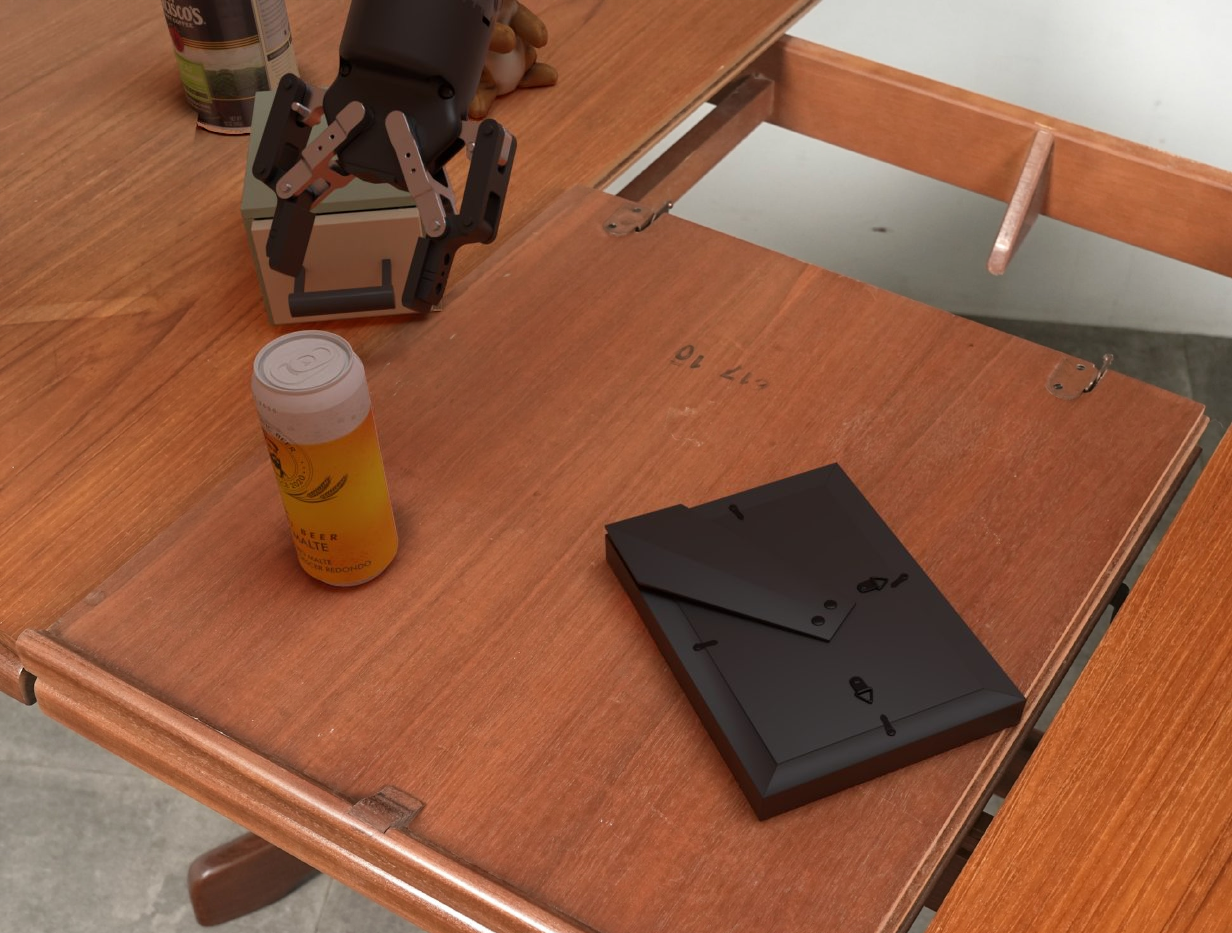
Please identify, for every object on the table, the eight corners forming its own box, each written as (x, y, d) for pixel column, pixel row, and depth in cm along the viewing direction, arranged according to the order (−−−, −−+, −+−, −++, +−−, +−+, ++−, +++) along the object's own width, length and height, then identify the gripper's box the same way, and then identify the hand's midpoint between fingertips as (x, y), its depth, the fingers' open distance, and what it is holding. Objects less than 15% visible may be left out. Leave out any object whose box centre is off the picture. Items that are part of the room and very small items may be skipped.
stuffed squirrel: (478, 126, 119) (462, -29, 109) (396, 66, 127) (374, -83, 117) (572, 90, 123) (565, -62, 113) (487, 34, 131) (473, -113, 121)
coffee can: (228, 149, 117) (186, -18, 107) (168, 106, 123) (122, -57, 112) (329, 107, 122) (298, -57, 111) (267, 67, 127) (232, -93, 117)
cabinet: (442, 311, 101) (425, 194, 94) (269, 326, 100) (240, 209, 93) (436, 191, 112) (421, 78, 105) (281, 204, 111) (255, 91, 104)
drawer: (434, 353, 96) (420, 257, 90) (270, 367, 95) (245, 272, 90) (428, 197, 110) (415, 105, 104) (285, 208, 109) (264, 117, 103)
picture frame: (605, 558, 84) (760, 821, 71) (604, 525, 81) (763, 790, 68) (833, 486, 87) (1019, 723, 74) (837, 452, 85) (1030, 691, 72)
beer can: (282, 553, 84) (224, 357, 73) (365, 508, 87) (322, 311, 76) (334, 608, 81) (283, 411, 70) (419, 560, 84) (382, 362, 73)
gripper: (279, -58, 72) (200, 245, 73) (519, -13, 67) (429, 308, 69) (351, 2, 79) (277, 277, 81) (572, 46, 75) (489, 336, 76)
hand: (348, 291), depth 75 cm, fingers open, 8 cm apart
